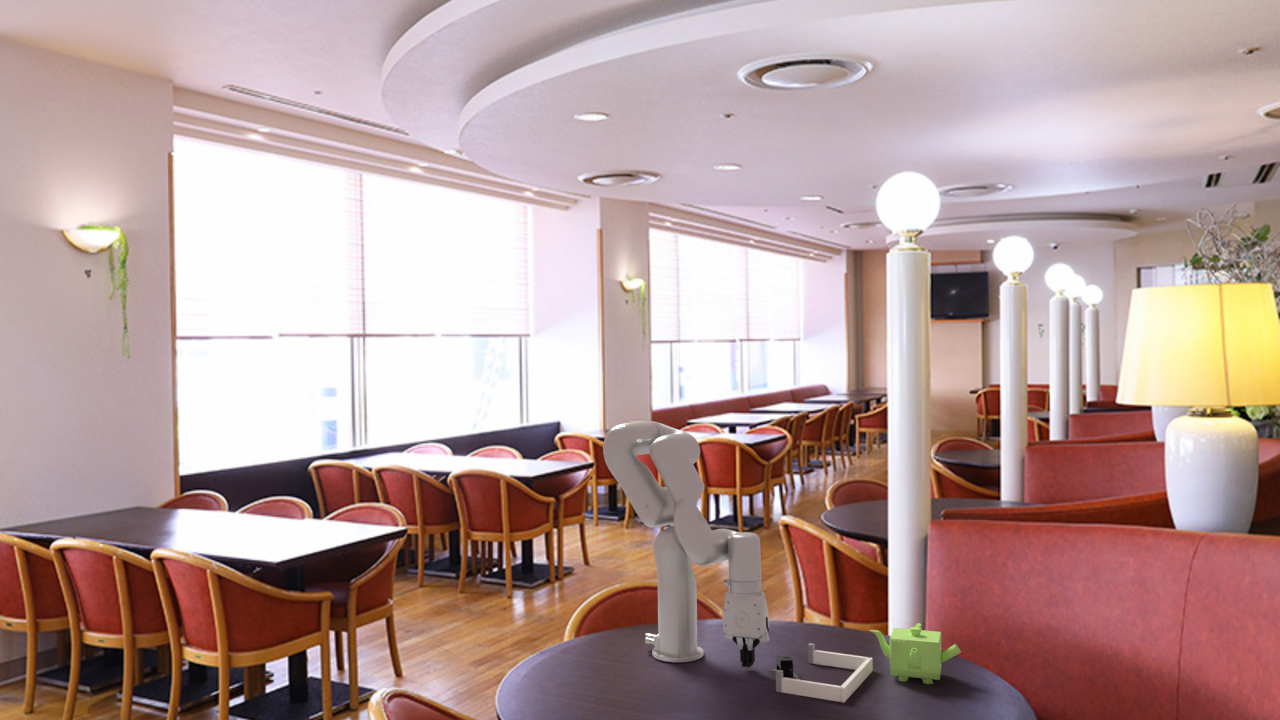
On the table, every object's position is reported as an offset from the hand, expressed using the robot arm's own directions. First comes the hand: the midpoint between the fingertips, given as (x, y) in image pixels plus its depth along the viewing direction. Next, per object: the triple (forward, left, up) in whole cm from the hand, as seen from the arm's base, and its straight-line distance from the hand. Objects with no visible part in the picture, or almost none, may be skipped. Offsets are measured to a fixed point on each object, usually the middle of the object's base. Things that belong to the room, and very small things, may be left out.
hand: (747, 665), depth 222 cm
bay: (+18, +1, -1) cm, 18 cm away
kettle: (+35, +13, -1) cm, 38 cm away
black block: (+9, +1, -2) cm, 9 cm away
